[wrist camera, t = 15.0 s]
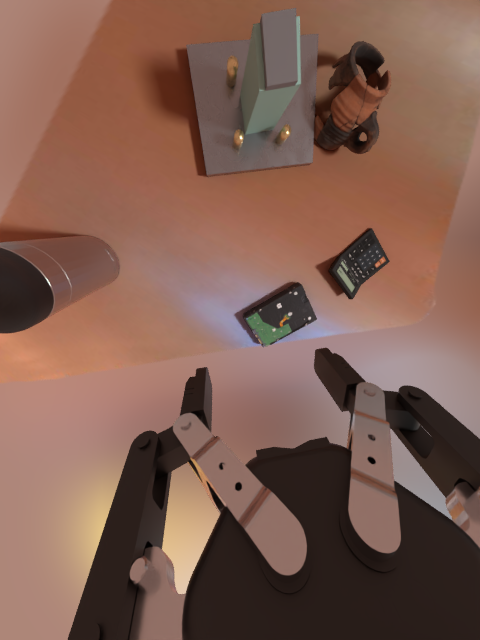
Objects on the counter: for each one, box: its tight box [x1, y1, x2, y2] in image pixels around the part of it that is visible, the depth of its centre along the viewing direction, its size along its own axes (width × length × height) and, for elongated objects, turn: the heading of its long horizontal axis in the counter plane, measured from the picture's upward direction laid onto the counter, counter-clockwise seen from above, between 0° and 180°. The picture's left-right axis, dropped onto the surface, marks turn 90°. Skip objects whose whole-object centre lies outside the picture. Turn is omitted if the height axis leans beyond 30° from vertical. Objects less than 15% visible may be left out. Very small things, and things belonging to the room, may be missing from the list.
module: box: [240, 8, 301, 135], centre depth 24 cm, size 4×5×12 cm
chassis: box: [186, 34, 318, 177], centre depth 28 cm, size 18×14×4 cm
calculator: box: [329, 228, 389, 299], centre depth 42 cm, size 9×12×3 cm
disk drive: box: [243, 282, 317, 347], centre depth 46 cm, size 10×3×15 cm
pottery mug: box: [314, 41, 391, 154], centre depth 30 cm, size 12×10×8 cm
